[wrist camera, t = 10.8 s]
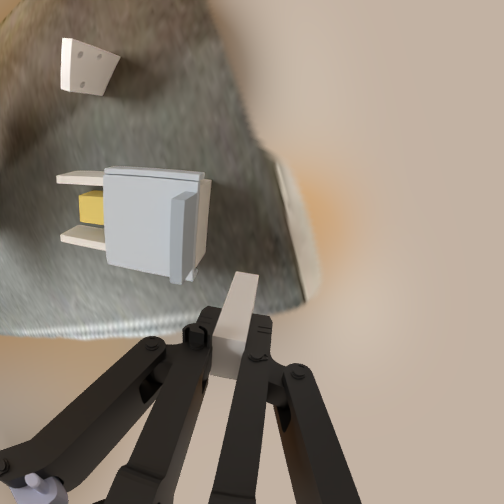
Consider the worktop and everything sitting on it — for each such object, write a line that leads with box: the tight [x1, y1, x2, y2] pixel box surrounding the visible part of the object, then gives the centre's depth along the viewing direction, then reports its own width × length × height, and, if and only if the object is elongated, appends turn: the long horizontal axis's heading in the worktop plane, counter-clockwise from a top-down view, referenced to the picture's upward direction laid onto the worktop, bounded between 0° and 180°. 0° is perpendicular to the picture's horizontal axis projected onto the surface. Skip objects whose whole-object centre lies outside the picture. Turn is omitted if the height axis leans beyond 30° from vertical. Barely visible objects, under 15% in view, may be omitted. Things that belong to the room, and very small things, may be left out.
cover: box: [103, 166, 205, 285], centre depth 26 cm, size 11×11×6 cm
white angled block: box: [61, 38, 120, 96], centre depth 22 cm, size 4×10×9 cm
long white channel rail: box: [56, 170, 212, 268], centre depth 30 cm, size 20×9×4 cm, turn 82°
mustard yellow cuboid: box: [79, 190, 104, 225], centre depth 31 cm, size 5×4×4 cm
